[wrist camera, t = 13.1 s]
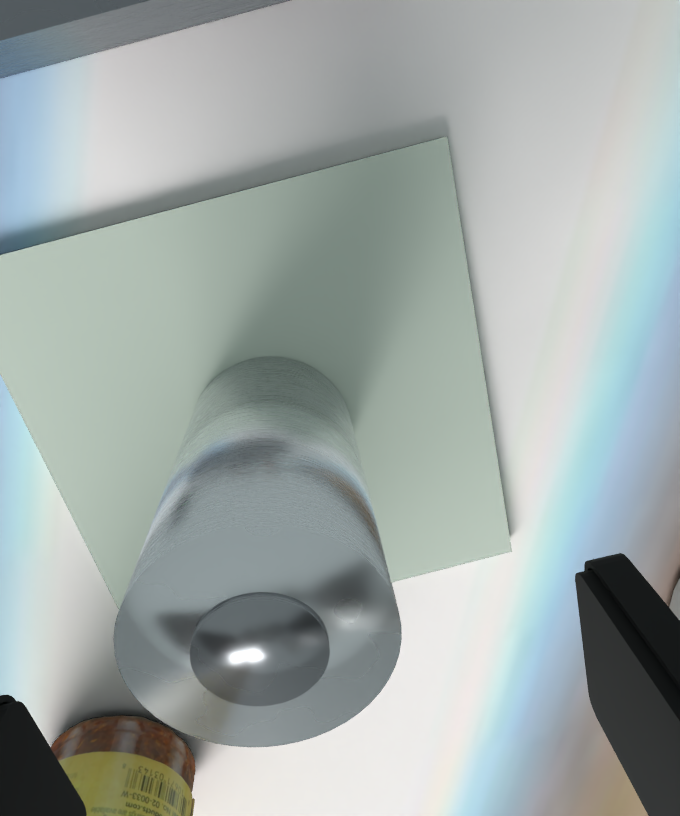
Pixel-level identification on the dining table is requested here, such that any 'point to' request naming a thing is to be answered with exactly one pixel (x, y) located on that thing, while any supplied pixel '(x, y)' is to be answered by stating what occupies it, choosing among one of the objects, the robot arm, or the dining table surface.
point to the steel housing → (97, 26)
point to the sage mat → (265, 349)
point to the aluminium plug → (261, 569)
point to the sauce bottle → (128, 767)
